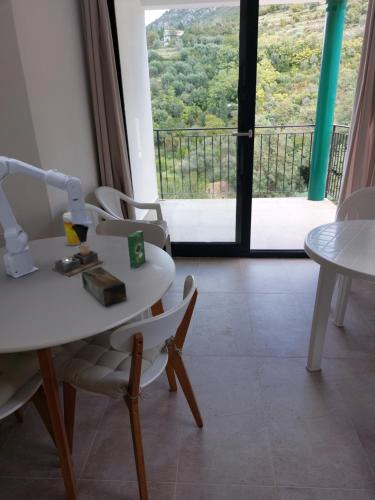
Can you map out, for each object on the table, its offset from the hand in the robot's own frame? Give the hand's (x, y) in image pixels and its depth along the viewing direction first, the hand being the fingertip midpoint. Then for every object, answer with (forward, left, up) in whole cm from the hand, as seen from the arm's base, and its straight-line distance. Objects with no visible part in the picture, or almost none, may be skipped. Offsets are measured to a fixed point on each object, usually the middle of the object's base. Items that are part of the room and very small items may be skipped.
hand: (83, 241), depth 137 cm
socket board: (-4, 0, -9) cm, 10 cm away
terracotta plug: (0, 0, -6) cm, 6 cm away
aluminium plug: (-9, 0, -8) cm, 12 cm away
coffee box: (+11, -19, -9) cm, 24 cm away
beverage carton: (-13, -27, -10) cm, 32 cm away
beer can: (+11, +25, -9) cm, 28 cm away
